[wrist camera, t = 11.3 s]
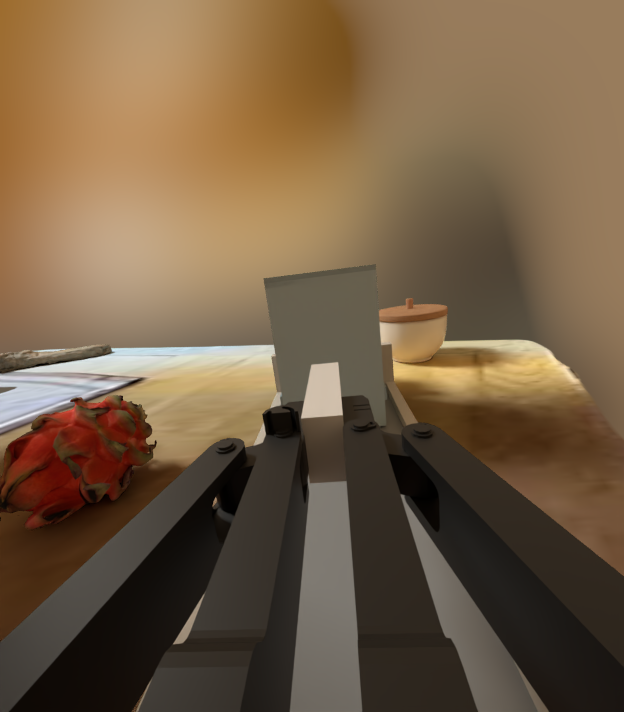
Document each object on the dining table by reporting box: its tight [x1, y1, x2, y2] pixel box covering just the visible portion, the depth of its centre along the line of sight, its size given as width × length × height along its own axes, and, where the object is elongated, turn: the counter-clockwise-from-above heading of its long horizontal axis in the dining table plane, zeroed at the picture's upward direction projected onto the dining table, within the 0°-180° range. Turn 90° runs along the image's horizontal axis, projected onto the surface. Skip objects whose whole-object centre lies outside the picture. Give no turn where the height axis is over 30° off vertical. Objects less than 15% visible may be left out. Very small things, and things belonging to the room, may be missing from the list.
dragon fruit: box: [0, 395, 157, 530], centre depth 24 cm, size 8×8×12 cm
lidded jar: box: [379, 298, 448, 363], centre depth 49 cm, size 11×11×9 cm
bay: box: [136, 342, 549, 712], centre depth 24 cm, size 30×14×6 cm, turn 177°
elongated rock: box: [0, 345, 112, 372], centre depth 86 cm, size 35×5×10 cm
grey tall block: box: [264, 265, 387, 426], centre depth 31 cm, size 9×9×14 cm
